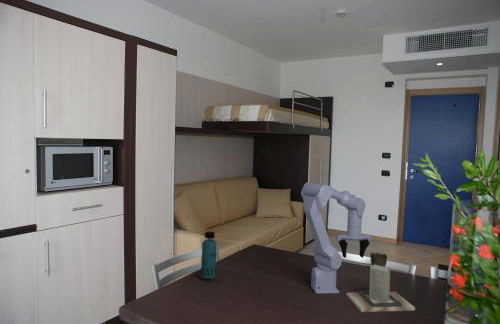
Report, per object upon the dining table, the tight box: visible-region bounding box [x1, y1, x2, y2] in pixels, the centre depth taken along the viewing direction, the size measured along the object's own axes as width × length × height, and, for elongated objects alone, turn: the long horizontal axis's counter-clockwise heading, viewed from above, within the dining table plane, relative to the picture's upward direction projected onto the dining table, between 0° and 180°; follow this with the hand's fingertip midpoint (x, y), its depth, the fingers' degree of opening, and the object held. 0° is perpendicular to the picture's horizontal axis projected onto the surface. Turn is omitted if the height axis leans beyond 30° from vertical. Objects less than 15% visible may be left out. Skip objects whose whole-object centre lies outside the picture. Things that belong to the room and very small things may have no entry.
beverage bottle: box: [200, 231, 218, 280], centre depth 141 cm, size 6×7×20 cm
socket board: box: [346, 290, 416, 313], centre depth 125 cm, size 20×13×2 cm, turn 96°
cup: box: [369, 252, 388, 267], centre depth 156 cm, size 8×7×8 cm
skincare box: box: [369, 265, 391, 303], centre depth 124 cm, size 6×4×12 cm
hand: (352, 256), depth 144 cm, fingers open, 7 cm apart
